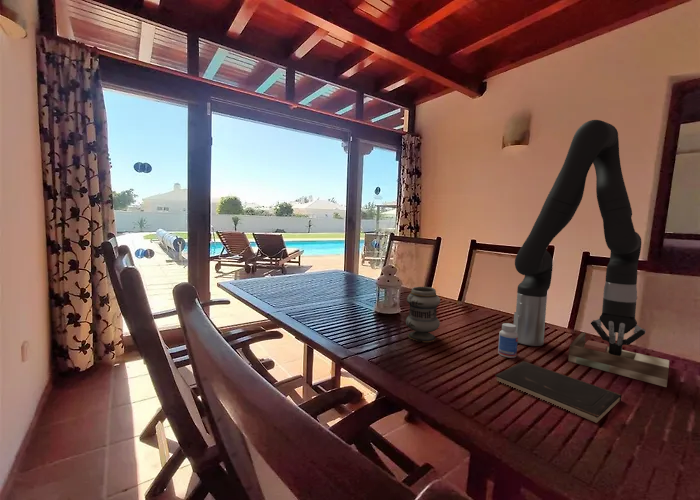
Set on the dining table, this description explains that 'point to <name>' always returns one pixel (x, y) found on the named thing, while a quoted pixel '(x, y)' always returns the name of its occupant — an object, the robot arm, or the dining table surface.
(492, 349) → the dining table surface
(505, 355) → the pill bottle
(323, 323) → the dining table surface
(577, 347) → the trap tray
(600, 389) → the hardcover book
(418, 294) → the apothecary jar
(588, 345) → the brown block
